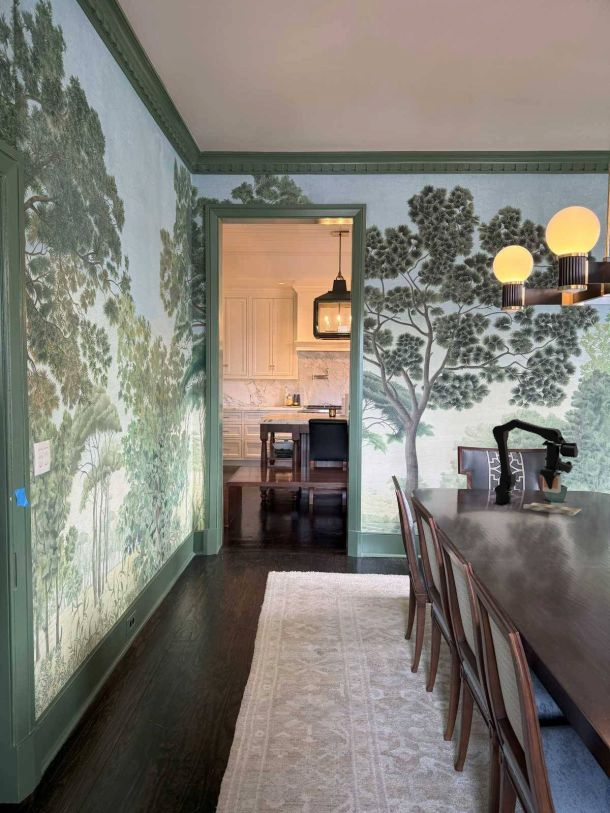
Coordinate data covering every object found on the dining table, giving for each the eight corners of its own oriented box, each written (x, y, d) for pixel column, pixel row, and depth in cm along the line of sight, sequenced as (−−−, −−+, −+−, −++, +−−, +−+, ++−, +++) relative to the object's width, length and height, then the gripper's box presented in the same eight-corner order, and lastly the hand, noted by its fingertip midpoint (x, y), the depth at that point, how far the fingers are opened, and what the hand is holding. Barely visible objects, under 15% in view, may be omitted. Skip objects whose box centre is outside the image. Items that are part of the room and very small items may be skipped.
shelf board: (523, 510, 261) (523, 504, 260) (533, 504, 273) (533, 498, 273) (573, 518, 247) (573, 511, 247) (581, 511, 259) (581, 505, 259)
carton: (545, 489, 262) (545, 473, 261) (560, 491, 257) (561, 474, 257) (542, 491, 258) (543, 474, 258) (558, 493, 254) (558, 476, 254)
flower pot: (567, 504, 273) (568, 486, 273) (549, 504, 274) (550, 486, 273) (559, 500, 282) (560, 483, 282) (542, 500, 282) (542, 483, 282)
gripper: (566, 459, 245) (564, 494, 245) (576, 455, 259) (574, 487, 260) (540, 457, 252) (539, 490, 252) (551, 452, 266) (550, 484, 267)
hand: (551, 488), depth 258 cm, fingers closed on carton, 4 cm apart
